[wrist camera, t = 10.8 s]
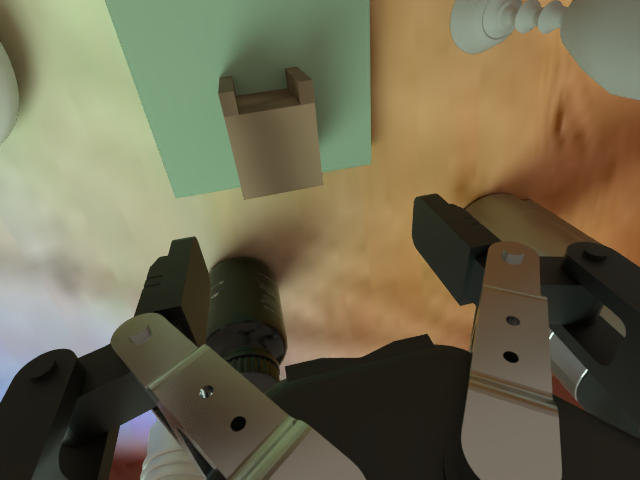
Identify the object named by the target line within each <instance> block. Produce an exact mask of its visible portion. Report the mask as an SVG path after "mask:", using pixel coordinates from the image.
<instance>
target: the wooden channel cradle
mask: <svg viewBox="0 0 640 480" xmlns="http://www.w3.org/2000/svg"><path fill="white" fill-rule="evenodd" d="M285 74H286V81H287V88H285V89H278V90H272V91H265V92H258V93H252V94H245V95H238V96H236V92H235V87H234V83H233V78H232V76H228V77H221V78H219V88H218V95H219V99H220V103H221V107H222V112H223V116H224V120H225V124H226V128H227V132H228V136H229V140H230V144H231V148H232V152H233V156H234V161H235V165H236V169H237V173H238V177H239V181H240V185H241V189H242V193H243V197H244V200H246V199H251V198H256V197H262V196H267V195H272V194H278V193H283V192H288V191H294V190H299V189H304V188H310V187H315V186H320V185H323V179H322V169H321V159H320V150H319V140H318V130H317V120H316V110H315V100H314V90H313V80H312V79H311V78H310V77H309V76H307V75H306V74H305V73H304V72H303V71H302V70H300V69H299V68H298V67H291V68H285Z"/></svg>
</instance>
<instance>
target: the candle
mask: <svg viewBox="0 0 640 480" xmlns="http://www.w3.org/2000/svg"><path fill="white" fill-rule="evenodd" d="M156 419H157V422H155V423H154V424H153V426H152V427H151V428H150V431H149V439H148V451H147V457H146V458H145V460H144V462H143V466H142V468H143V470H142V474H141V477H140V480H205V479H204V478H203V477H202V475H201V474H200V473H199V471H198V470H197V469H196V467H195V466H194V464H193V463H192V462H191V460H190V459H189V457H188V456H187V454H186V453H185V452H184V450H183V449H182V448H181V447H180V445H179V444H178V443H177V442H176V440H175V439H174V438H173V437H172V435H171V434H170V433H169V432H168V430H167V429H166V428H165V427H164V425H163V424H162V423H161V422H160V420H159V419H158V418H157V417H156Z"/></svg>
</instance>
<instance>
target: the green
mask: <svg viewBox="0 0 640 480" xmlns="http://www.w3.org/2000/svg"><path fill="white" fill-rule="evenodd" d="M105 2H106V5H107V8H108V11H109V13H110V16H111V19H112V22H113V24H114V27H115V30H116V33H117V36H118V38H119V41H120V44H121V47H122V50H123V52H124V55H125V58H126V61H127V64H128V66H129V69H130V72H131V75H132V77H133V80H134V83H135V86H136V89H137V91H138V94H139V97H140V100H141V103H142V105H143V108H144V111H145V114H146V117H147V119H148V122H149V125H150V128H151V130H152V133H153V136H154V139H155V142H156V144H157V147H158V150H159V153H160V156H161V158H162V161H163V164H164V167H165V170H166V172H167V175H168V178H169V181H170V184H171V186H172V189H173V192H174V195H175V197H176V198H181V197H187V196H192V195H198V194H204V193H209V192H215V191H221V190H226V189H232V188H238V187H241V185H240V181H239V177H238V173H237V169H236V165H235V161H234V156H233V152H232V148H231V144H230V140H229V136H228V132H227V128H226V124H225V120H224V116H223V112H222V107H221V103H220V99H219V95H218V88H219V78H221V77H228V76H232V78H233V83H234V87H235V92H236V96H238V95H245V94H252V93H258V92H265V91H272V90H278V89H285V88H287V81H286V74H285V68H291V67H298V68H299V69H300V70H302V71H303V72H304V73H305V74H306V75H307V76H309V77H310V78H311V79H312V80H313V90H314V100H315V110H316V120H317V130H318V140H319V150H320V159H321V169H322V172H328V171H334V170H339V169H345V168H351V167H356V166H362V165H368V164H371V91H370V0H105Z"/></svg>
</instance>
